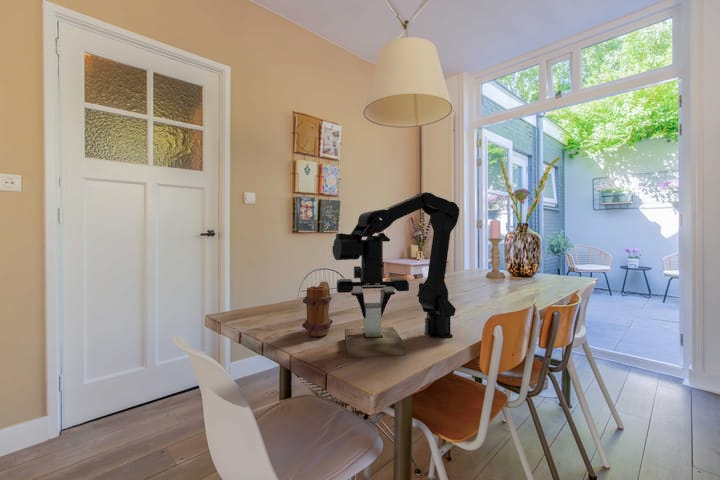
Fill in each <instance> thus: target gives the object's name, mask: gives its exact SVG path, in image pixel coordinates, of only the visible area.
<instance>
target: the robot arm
mask: <svg viewBox="0 0 720 480" xmlns="http://www.w3.org/2000/svg"><path fill="white" fill-rule="evenodd" d="M419 210H422V211H423V213H425V215H428V216H429V222H430V225H431V228H432V232H433V235H432V239H431V240H432V241H431V248H430V255H429V256H430V257H429V261H428V262H429V264H428V270H427V271H428V272H427V278H426V279H425V281H424V282H422V283H421V282H419V284H418V293H417V295H416V296H417V297H418V303H419V304H420V305H421V308H422V311H423V312H424V313H426V318H424V333H426V335H428V336H429V337H430V338H431V339H432V338H433V339H435V338H452V337H454V335H453V334H452V333H451V317H454V316H455V313H456V307H455V306H454V305H453V304H452V303H451V302H450V300H449V290H448V287H447V285H446V282H445V278H446V277H445V276H446V269H447V262H448V257H449V256H448V255H449V254H448V252H449V247H450V239H451V238H450V237H451V233H452V231H453V230H454V228H455V227H456V226H457V224H458V220H459V217H460V208H459V206H458V204H457V203H456V202H454V201H450V200H448V199H446V198H443V197H439V196H436V195H435V194H434V193H432V192H429V191H425V192H420V193H417V194H415V195H413V196H412V197H409V198H408V199H405V200H402V201H400V202H397V203H395V204H392V205H390V206H388V207H386V208H382V209H377V210H371V211H367V212H366V211H365V212H363V213H361V214H360V215H359V217H358V219H357V223H356V226H355V227H354V228H353V230H352V231H351V233H350V234H349V233H348V234H347V233H336V234H335V239H334V241H333V245H332V256H333V257H334V260H336V261H348V260H349V261H350V260H356V261H357V260H359V259H360V257H361V259H360V260H361V264H360V265H361V266H359V265H357V266H354V267H353V279H355V280H356V279H359V280H360V281H353V280H352V278H345V279H344V278H343V279H342V278H341V279H340V278H339V279H337V280H336V291H337V292H336V293H341V294H343V293H344V294H345V293H346V294H347V293H350V294H351V296H353V297H355V298H356V299H357V302H358V304H359V308H360V310H361V313H362V317H363V319H364V318H365V304H364V303H365V297H364V292H363V291H362V290H363V289H366V290H367V289H368V290H369V289H380V301H379V304H380V305H381V318H382V317H383V314H384V312H385V309H386V307H387V304H388V302H389V300H390V298H391V297H392V296H393V295H395V294H396V292H409V291H410V282H409V281H408V280H407V279H405V278H404V277H391V278H390V280H389V281H388V280H387V281H386V280H385V281H384V259H383V258H384V247H383V246H384V243H383V242H385V243H386V242H390V241H391V239H390V238H389V237H388V236H387V235H386V233H385V232H384V231H385V230H387V229H388V228H389V227H390V226H391V225H393V223H394V222H395V221H397V220H399V219H401V218H403V217H405V216H406V217H407V216H409V215H410V214H412V213H415V212H417V211H419ZM376 234H377V235H376ZM363 238H366V239H363ZM394 290H396V292H395V291H394Z"/></svg>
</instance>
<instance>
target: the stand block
mask: <svg viewBox="0 0 720 480" xmlns="http://www.w3.org/2000/svg"><path fill="white" fill-rule="evenodd" d="M344 343H345V347H346V353H347V358H363V357H365V358H366V357H383V356H384V357H387V356H389V357H390V356H403V355H404V356H405V354H406V353H405V349H406V347H405V346H406V344H405V341H404V339H402V337H401V336H400V335H399V333H398V332H397V331H396V329H395V328H394V326H389V327H388V326H387V327H384V326H383V327H381V336H378V337H366V336H365V333H364V327H360V328H356V327H355V328H344Z"/></svg>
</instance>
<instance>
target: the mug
mask: <svg viewBox="0 0 720 480" xmlns="http://www.w3.org/2000/svg"><path fill="white" fill-rule="evenodd" d="M332 299H333V298H332V297H331V290H330V285H329V282H328V281H320V283H319V285H318V286H310V287H307V289H306V296H305V297H304V298H303V299H302V303H304V304H305V305H306V320H305V321H304V322H303V323H302V325H301V327H302V328H304V329H305V331H306V334H307V335H308V336H309V337H315V338H316V337H317V338H318V337H324V336H326V335H328V333H329V332H330V331H329V330H330V328H331V326H332V324H333V321H334V320H333V319H331V318H330V317H329V316H330V315H329V310H330V304H331V303H330V302H331V301H332Z"/></svg>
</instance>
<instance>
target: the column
mask: <svg viewBox="0 0 720 480" xmlns="http://www.w3.org/2000/svg"><path fill="white" fill-rule="evenodd" d="M364 304H365V318H364V317H363V328H364V333H365V336H366V337H378V336H381V328H382V317H381V305H380V302H364Z"/></svg>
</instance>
